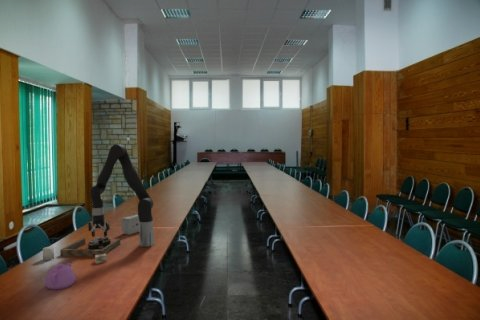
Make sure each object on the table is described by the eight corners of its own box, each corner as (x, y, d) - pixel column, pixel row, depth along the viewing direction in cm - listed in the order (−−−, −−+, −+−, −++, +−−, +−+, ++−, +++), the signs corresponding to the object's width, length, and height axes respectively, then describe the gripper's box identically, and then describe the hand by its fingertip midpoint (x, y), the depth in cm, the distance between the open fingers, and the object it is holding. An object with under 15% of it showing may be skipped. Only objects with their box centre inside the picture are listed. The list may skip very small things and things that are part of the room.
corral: (120, 244, 241) (120, 238, 241) (102, 256, 215) (102, 250, 215) (82, 243, 243) (82, 238, 243) (60, 255, 217) (60, 249, 217)
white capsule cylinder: (56, 257, 215) (55, 246, 214) (50, 260, 209) (49, 249, 208) (47, 257, 215) (46, 246, 215) (40, 260, 209) (40, 249, 209)
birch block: (105, 259, 210) (105, 253, 210) (106, 262, 207) (106, 255, 206) (95, 261, 207) (95, 255, 207) (95, 263, 204) (95, 257, 203)
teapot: (83, 276, 185) (82, 256, 184) (66, 292, 165) (66, 270, 164) (56, 276, 184) (56, 257, 183) (37, 293, 164) (36, 271, 163)
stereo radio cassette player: (141, 228, 286) (140, 204, 285) (148, 229, 282) (148, 205, 281) (121, 234, 268) (120, 209, 267) (128, 235, 264) (127, 210, 263)
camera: (102, 247, 236) (102, 232, 235) (112, 249, 230) (111, 235, 230) (81, 253, 222) (81, 238, 222) (91, 256, 217) (90, 240, 216)
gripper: (110, 212, 241) (111, 235, 241) (91, 212, 242) (92, 235, 243) (105, 214, 233) (106, 238, 234) (85, 215, 234) (86, 238, 235)
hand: (99, 236), depth 238 cm, fingers open, 8 cm apart
